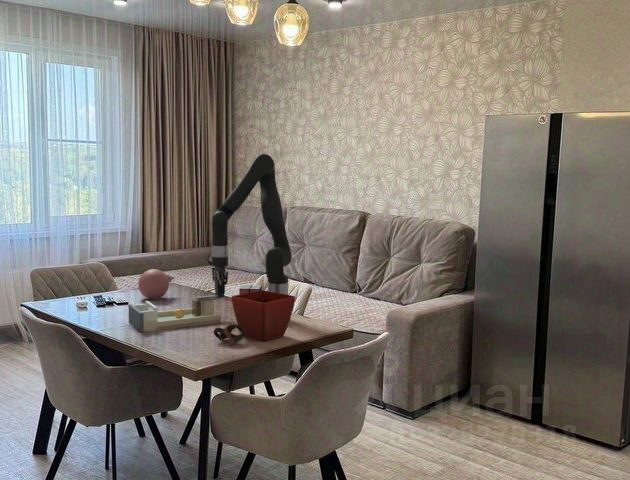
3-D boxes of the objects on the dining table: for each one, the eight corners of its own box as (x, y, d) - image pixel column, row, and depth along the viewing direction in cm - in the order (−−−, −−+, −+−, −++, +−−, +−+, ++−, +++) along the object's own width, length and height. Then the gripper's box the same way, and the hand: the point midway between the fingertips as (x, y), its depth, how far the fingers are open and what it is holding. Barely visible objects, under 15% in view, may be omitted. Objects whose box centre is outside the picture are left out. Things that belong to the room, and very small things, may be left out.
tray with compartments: (221, 322, 281) (221, 302, 279) (139, 332, 262) (139, 310, 261) (206, 313, 296) (206, 294, 295) (128, 322, 278) (128, 301, 276)
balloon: (182, 298, 329) (182, 269, 327) (147, 303, 315) (146, 272, 313) (167, 293, 340) (167, 265, 338) (133, 298, 326) (132, 268, 325)
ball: (186, 319, 279) (186, 309, 279) (176, 320, 277) (176, 310, 276) (182, 317, 283) (182, 307, 282) (173, 318, 281) (172, 308, 280)
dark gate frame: (225, 313, 288) (225, 279, 286) (196, 317, 281) (196, 281, 279) (220, 311, 292) (221, 277, 291) (192, 314, 285) (192, 279, 284)
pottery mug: (241, 339, 257) (246, 324, 253) (239, 355, 249) (244, 340, 245) (212, 332, 254) (217, 317, 250) (209, 348, 247) (214, 333, 242)
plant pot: (262, 327, 274) (263, 289, 272) (295, 336, 262) (296, 296, 260) (229, 336, 259) (230, 296, 257) (263, 345, 247) (264, 303, 245)
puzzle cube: (259, 309, 308) (259, 289, 307) (239, 308, 308) (239, 288, 307) (261, 304, 318) (261, 285, 317) (241, 304, 318) (242, 284, 317)
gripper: (233, 256, 282) (233, 294, 284) (221, 252, 294) (221, 288, 296) (218, 257, 278) (218, 295, 280) (206, 253, 291) (206, 289, 293)
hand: (219, 291), depth 288 cm, fingers open, 5 cm apart
